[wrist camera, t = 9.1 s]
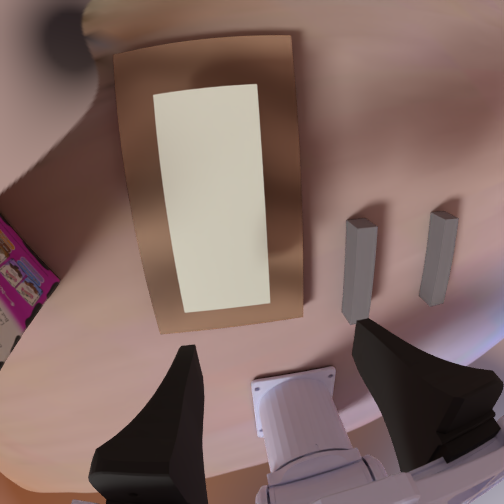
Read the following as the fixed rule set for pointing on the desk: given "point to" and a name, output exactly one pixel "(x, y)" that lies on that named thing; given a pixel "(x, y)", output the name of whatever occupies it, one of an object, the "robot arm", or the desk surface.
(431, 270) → the battens
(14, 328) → the candy bar box
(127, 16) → the desk surface
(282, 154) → the peg stand
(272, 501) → the robot arm
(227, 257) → the shelf board
